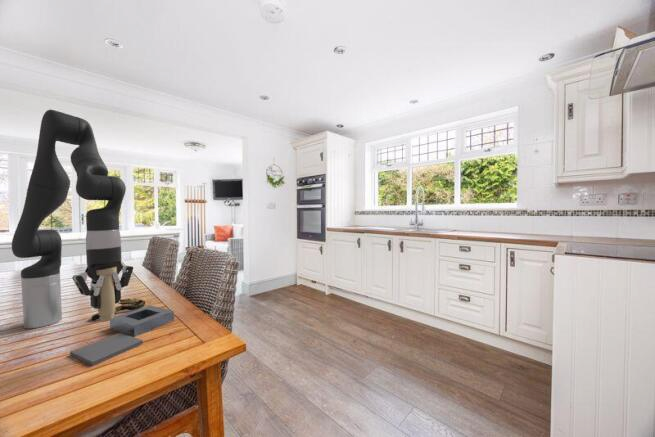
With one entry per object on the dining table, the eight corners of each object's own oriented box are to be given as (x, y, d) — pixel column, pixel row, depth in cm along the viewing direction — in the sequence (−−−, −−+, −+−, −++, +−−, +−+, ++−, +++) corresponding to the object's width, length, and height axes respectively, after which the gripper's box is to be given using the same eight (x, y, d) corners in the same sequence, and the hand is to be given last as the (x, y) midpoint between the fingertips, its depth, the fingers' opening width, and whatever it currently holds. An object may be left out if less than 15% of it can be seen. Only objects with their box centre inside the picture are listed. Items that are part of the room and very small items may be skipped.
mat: (70, 355, 71) (70, 351, 71) (120, 335, 82) (119, 332, 82) (92, 365, 66) (92, 361, 66) (142, 343, 77) (142, 340, 77)
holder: (110, 328, 87) (109, 318, 87) (150, 314, 99) (149, 305, 99) (134, 336, 81) (134, 325, 81) (174, 320, 93) (173, 310, 93)
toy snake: (93, 309, 92) (85, 305, 98) (93, 322, 92) (85, 318, 98) (150, 296, 107) (140, 294, 113) (150, 307, 107) (141, 305, 112)
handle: (97, 325, 70) (95, 271, 69) (94, 319, 74) (92, 267, 74) (119, 320, 73) (117, 268, 73) (116, 314, 78) (114, 265, 77)
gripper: (124, 242, 81) (126, 296, 82) (64, 248, 68) (67, 312, 69) (139, 243, 78) (141, 299, 79) (78, 250, 65) (81, 317, 66)
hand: (106, 305), depth 74 cm, fingers closed on handle, 4 cm apart
